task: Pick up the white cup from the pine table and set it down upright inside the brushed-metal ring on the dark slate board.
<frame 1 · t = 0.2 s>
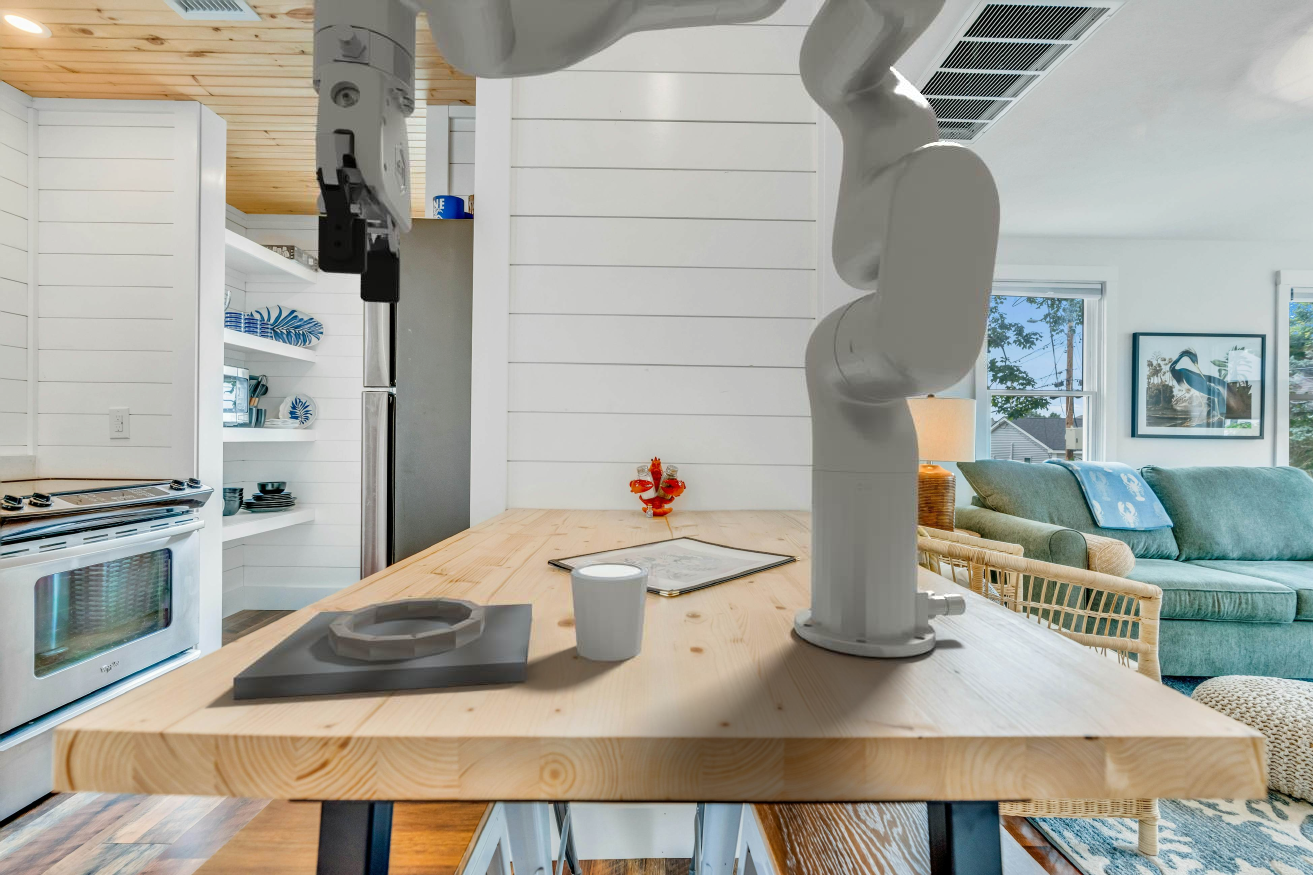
hand: (363, 288, 49), 31 cm above the table, tool pointing down, fingers open, 9 cm apart
white cup: (609, 651, 52), on the table
ring board: (410, 651, 52), on the table
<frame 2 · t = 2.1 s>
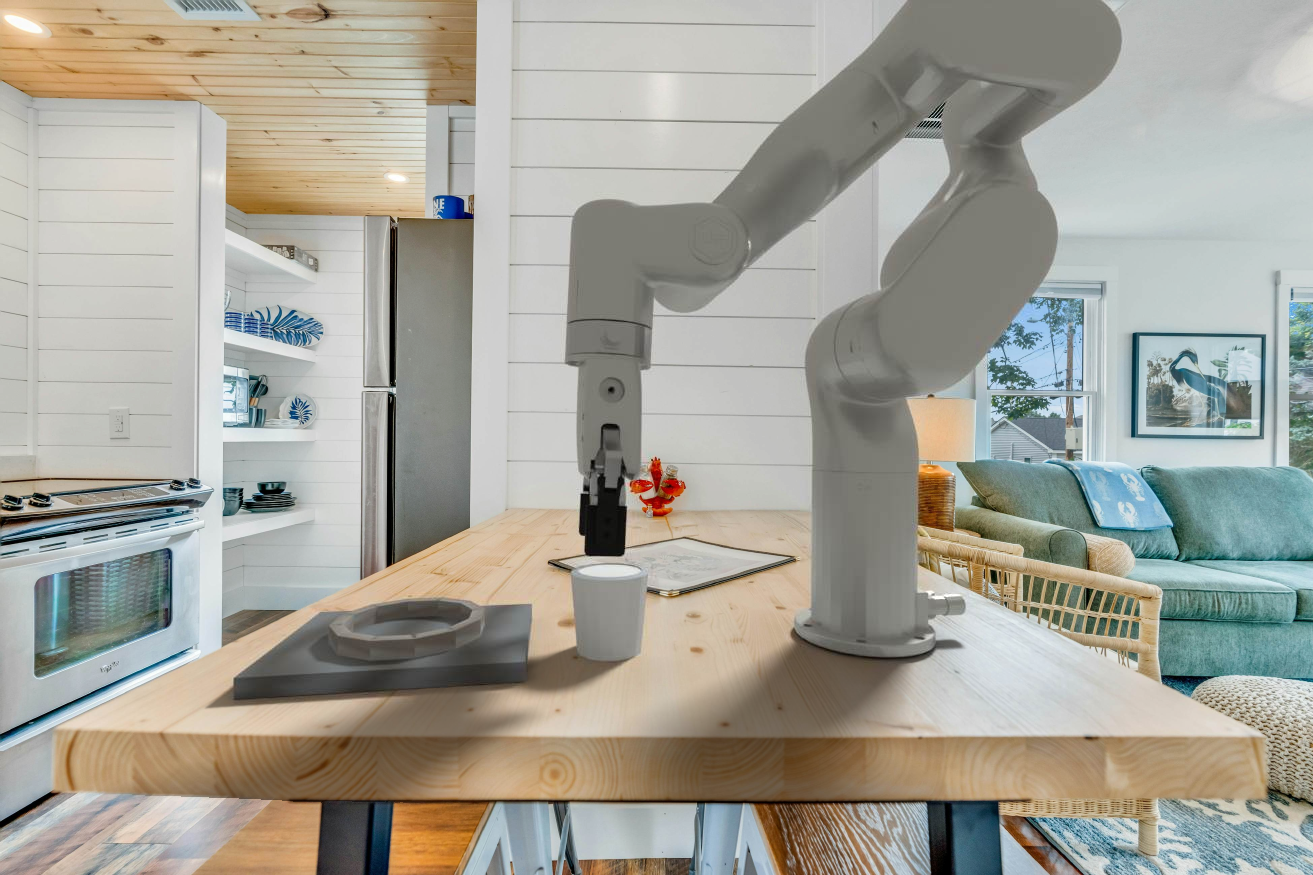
hand: (599, 544, 52), 9 cm above the table, tool pointing down, fingers open, 9 cm apart
nothing on the table moved.
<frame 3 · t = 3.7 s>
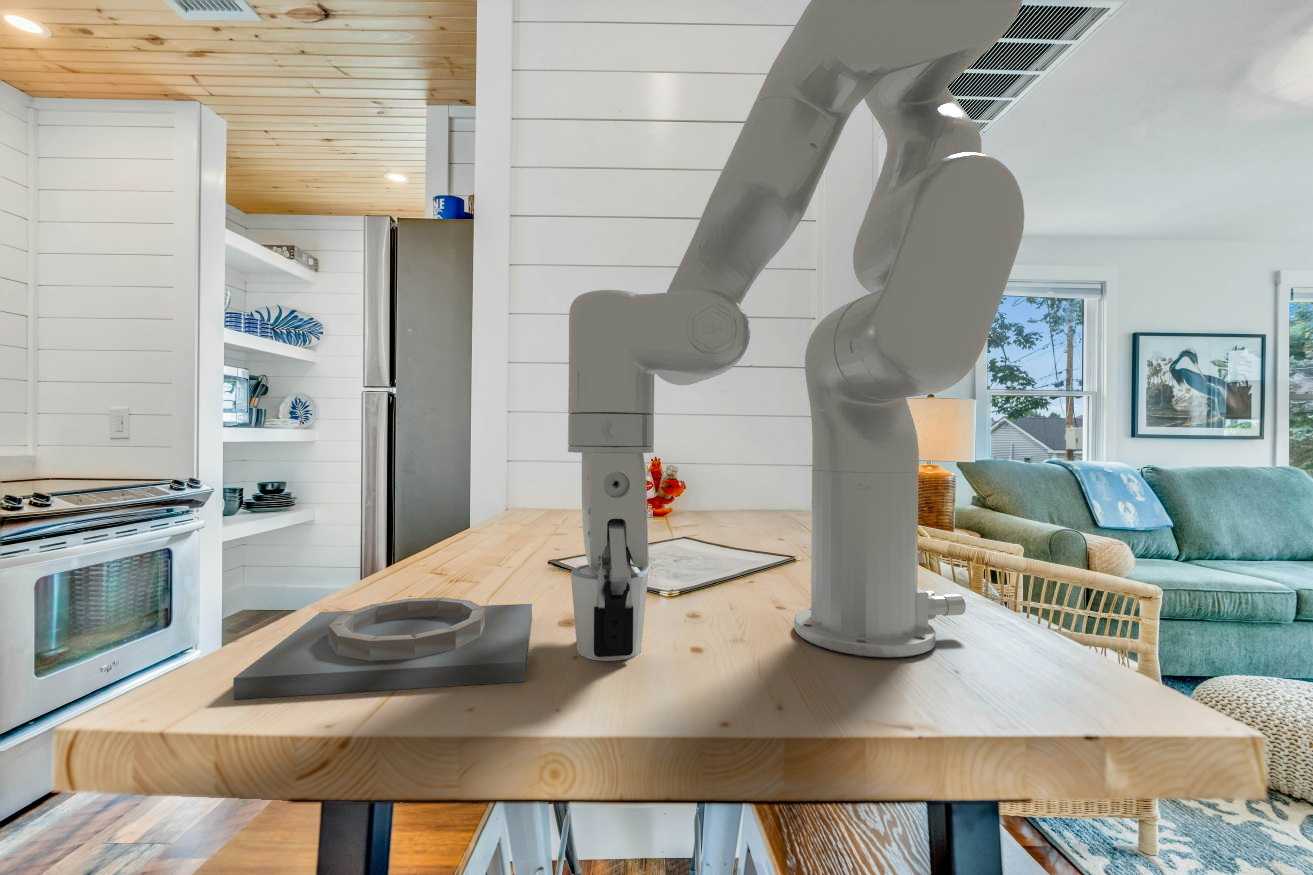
hand: (609, 639, 52), 1 cm above the table, tool pointing down, fingers closed on white cup, 5 cm apart
white cup: (609, 651, 52), on the table, touching gripper
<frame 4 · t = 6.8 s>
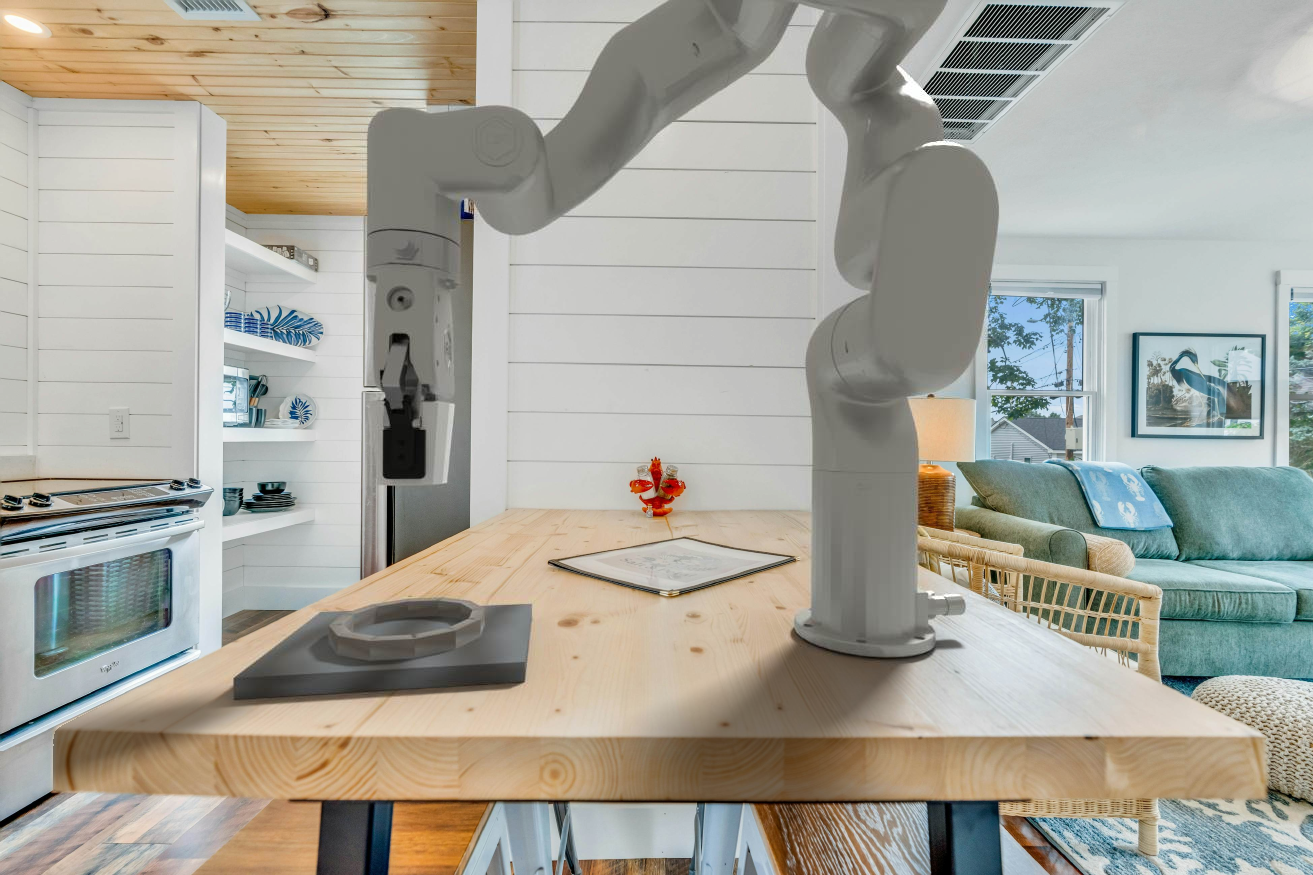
hand: (413, 474, 52), 15 cm above the table, tool pointing down, fingers closed on white cup, 5 cm apart
white cup: (412, 485, 52), point 14 cm above the table, touching gripper
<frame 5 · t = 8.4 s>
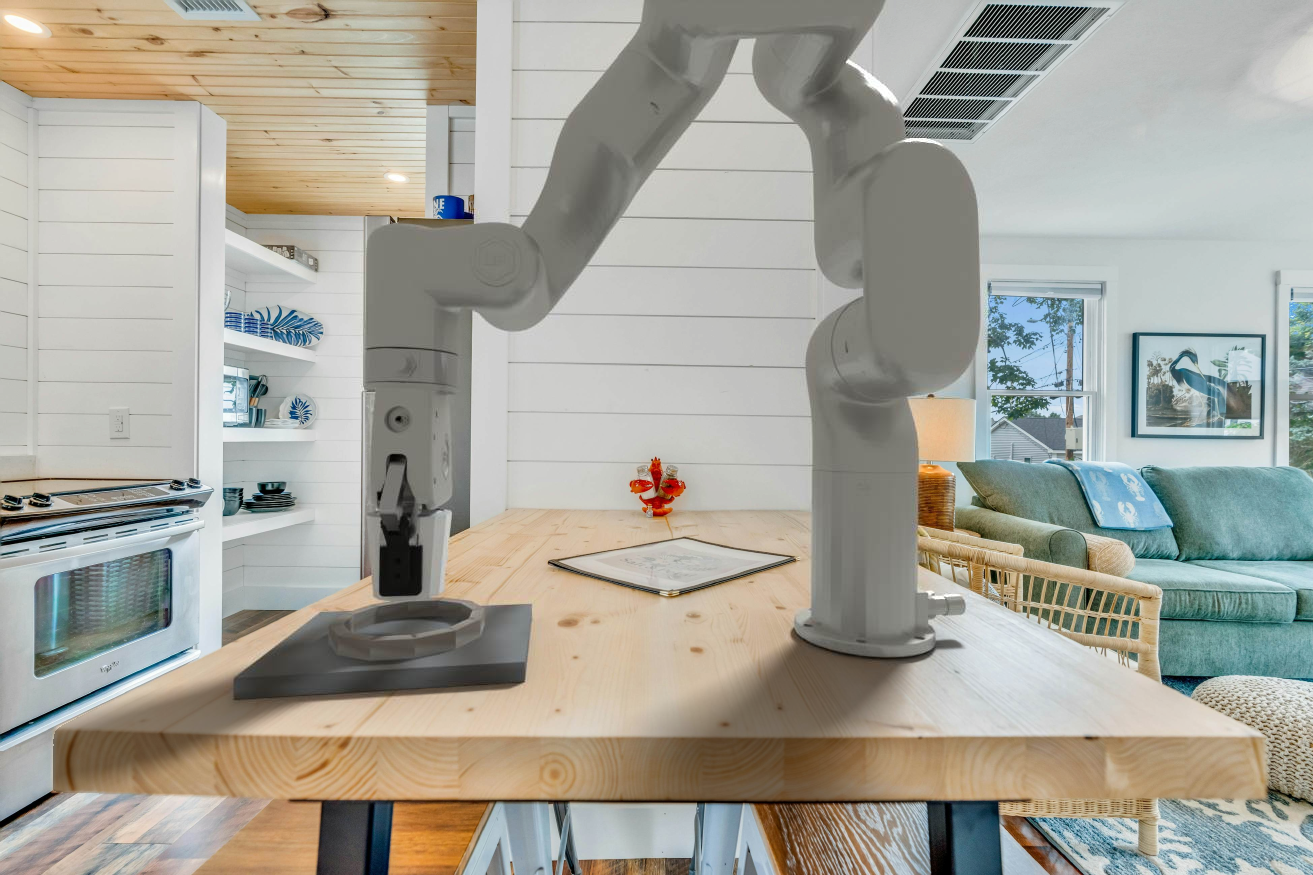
hand: (409, 583, 52), 6 cm above the table, tool pointing down, fingers closed on white cup, 5 cm apart
white cup: (409, 594, 51), point 5 cm above the table, touching gripper
when the fingers open (3 cm above the table, at t = 9.8 s): white cup drops 1 cm, resting on ring board.
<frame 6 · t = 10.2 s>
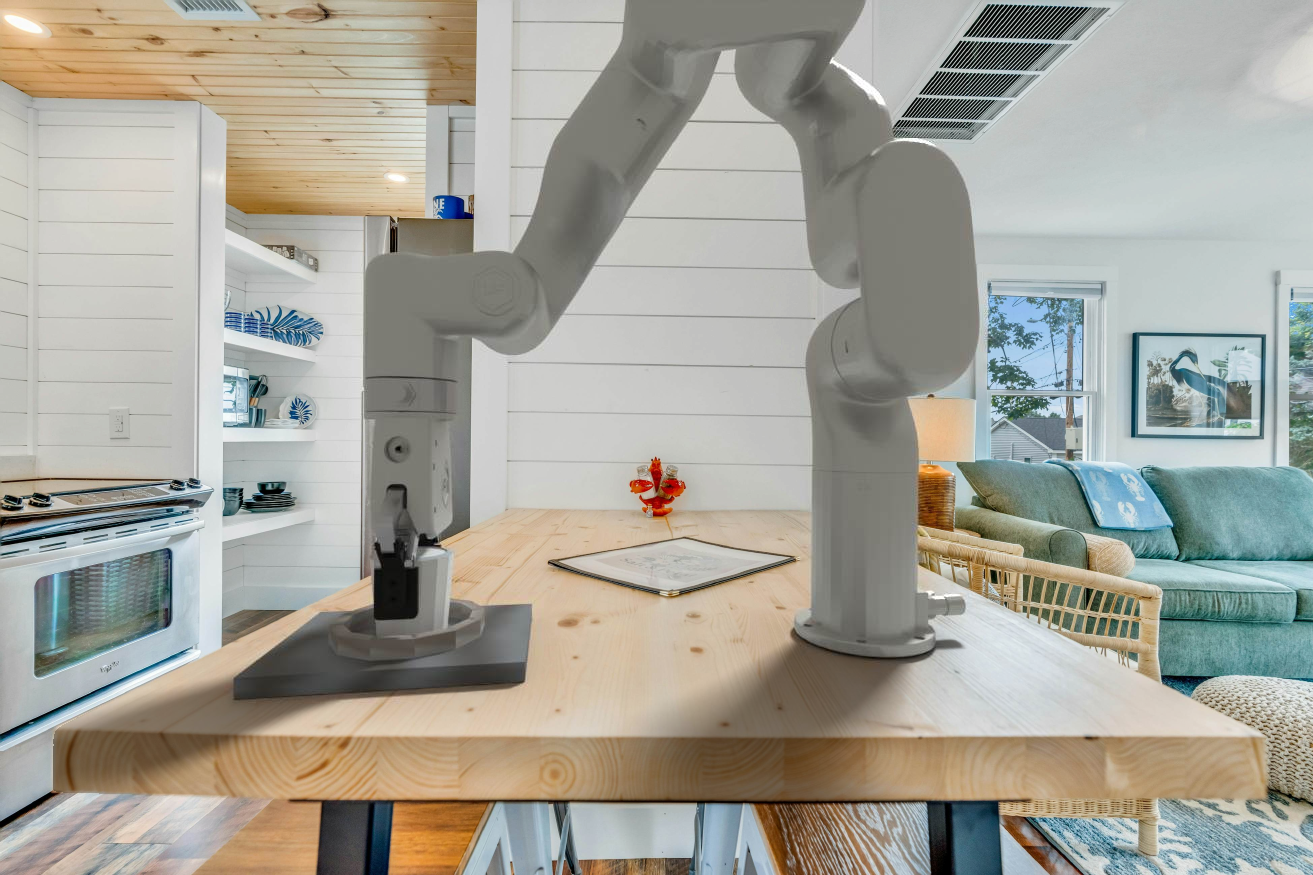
hand: (410, 601, 52), 4 cm above the table, tool pointing down, fingers open, 9 cm apart
white cup: (412, 635, 52), point 1 cm above the table, touching ring board
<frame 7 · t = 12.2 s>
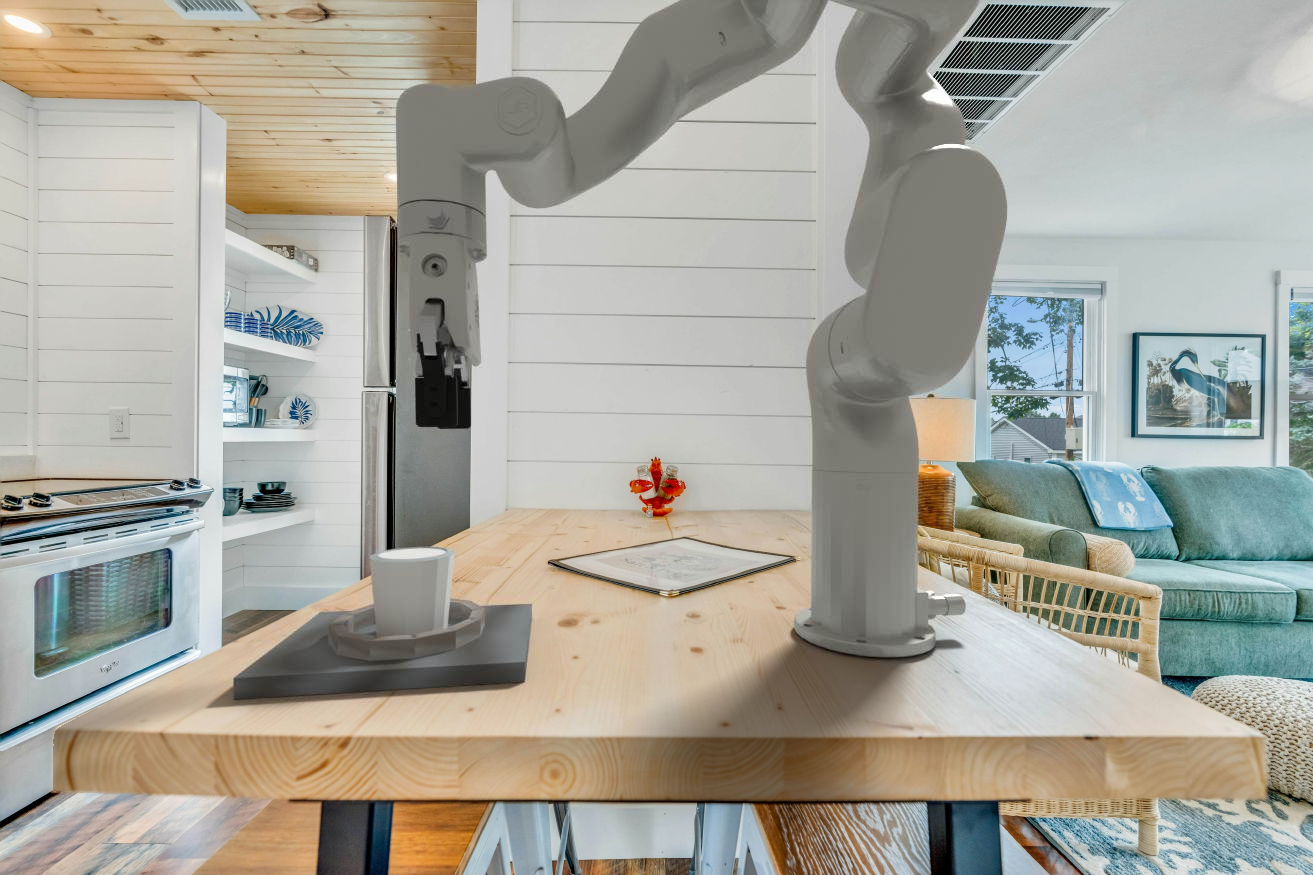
hand: (446, 427, 54), 19 cm above the table, tool pointing down, fingers open, 9 cm apart
nothing on the table moved.
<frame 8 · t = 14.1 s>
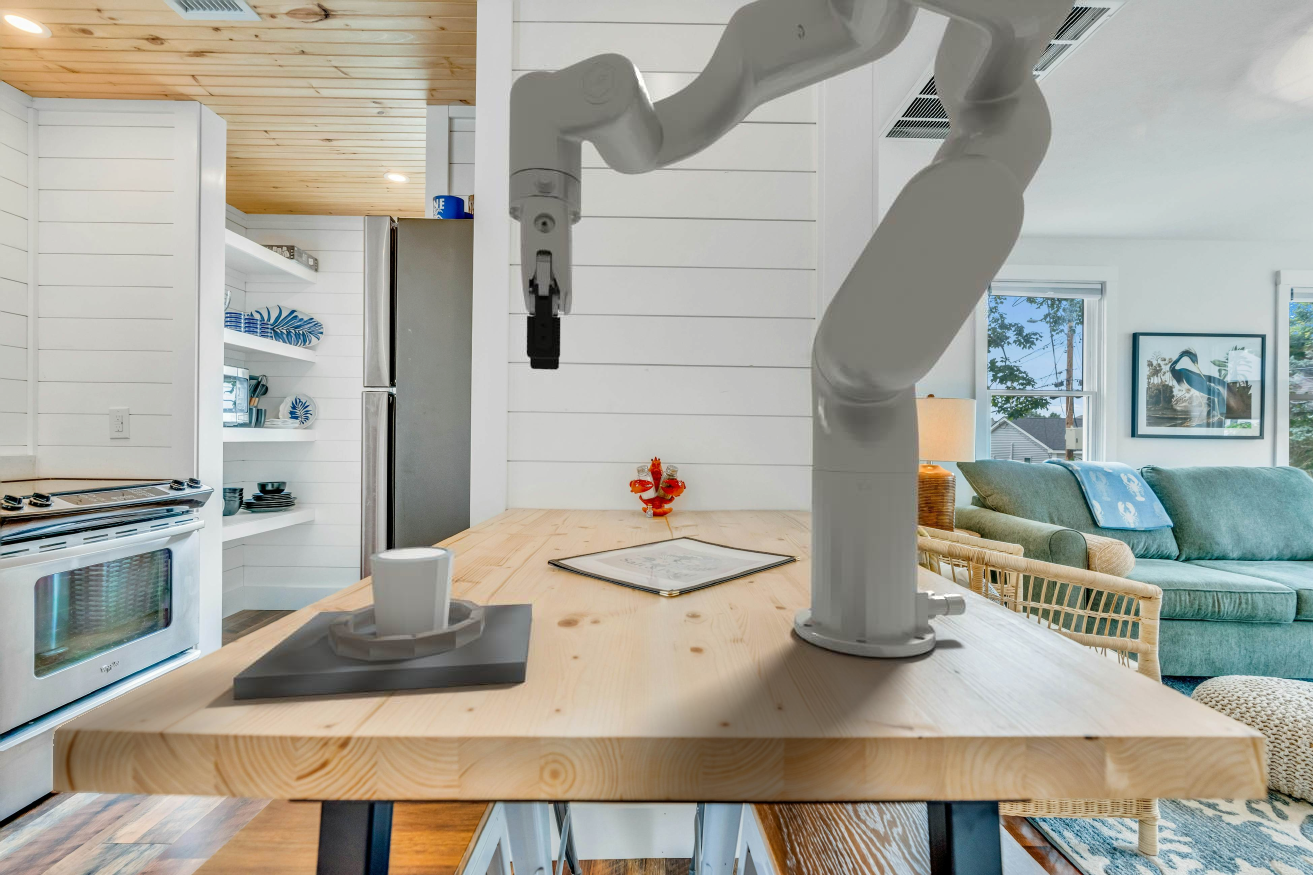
hand: (544, 363, 63), 26 cm above the table, tool pointing down, fingers open, 9 cm apart
nothing on the table moved.
at the end: white cup 0.2 cm off-centre on the ring board, point 1.3 cm above the ring board's base; white cup tilted 0°; the gripper is holding nothing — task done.
